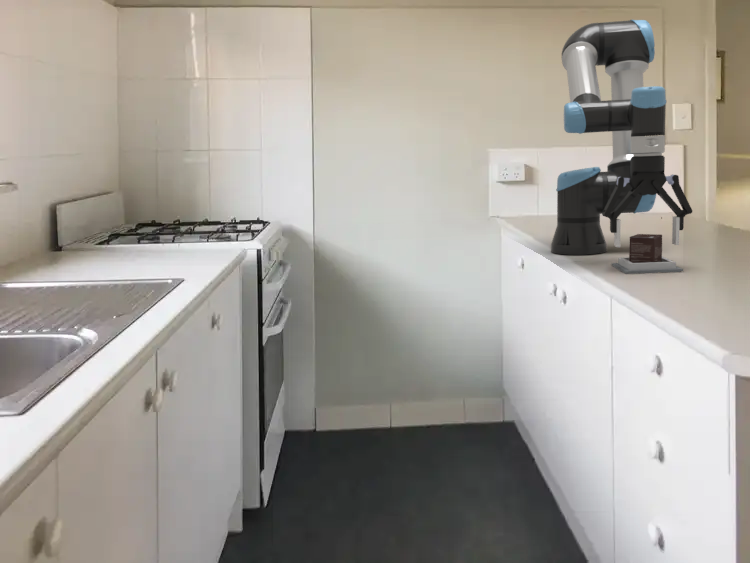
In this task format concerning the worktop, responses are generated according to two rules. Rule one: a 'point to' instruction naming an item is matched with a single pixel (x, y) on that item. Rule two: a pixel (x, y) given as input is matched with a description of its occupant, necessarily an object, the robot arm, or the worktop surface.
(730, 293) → the worktop surface
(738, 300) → the worktop surface
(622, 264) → the grey and white frame
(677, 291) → the worktop surface
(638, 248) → the box
